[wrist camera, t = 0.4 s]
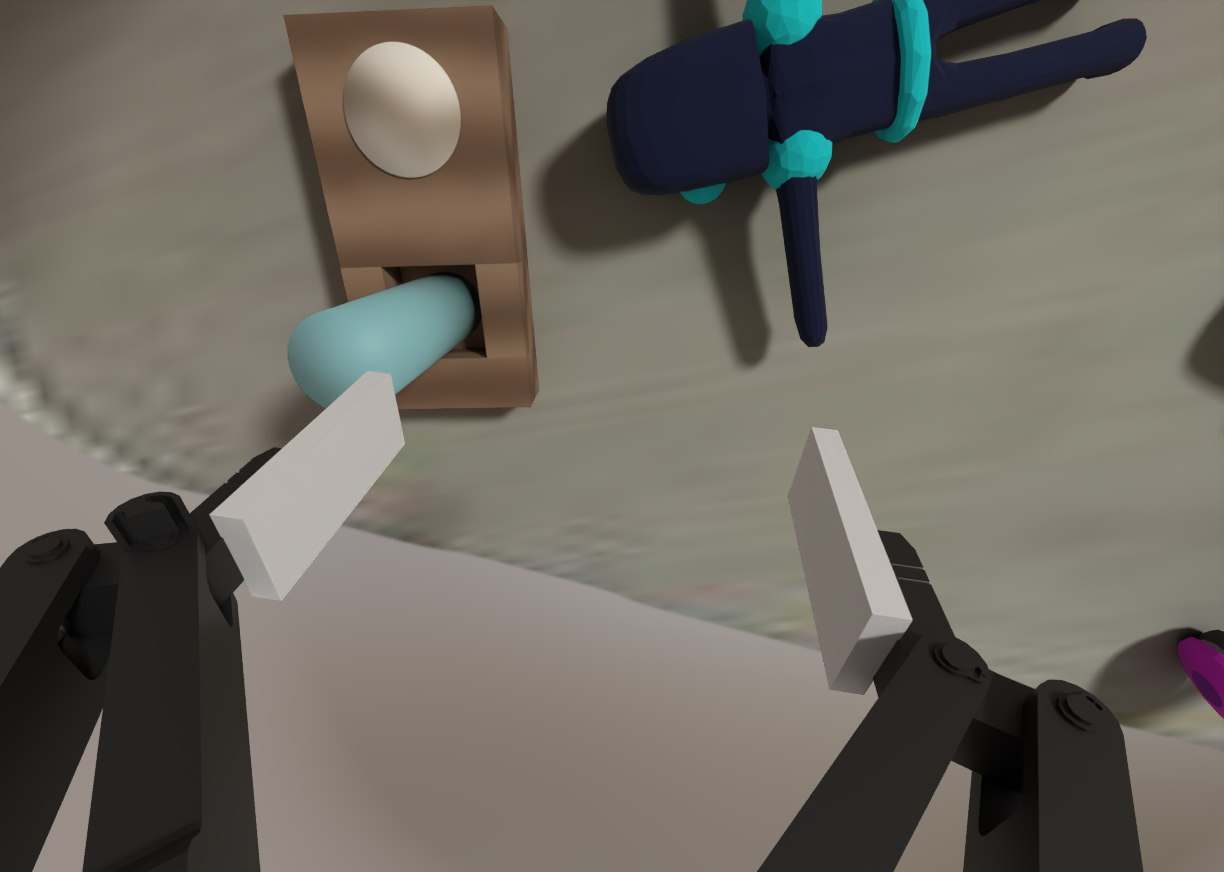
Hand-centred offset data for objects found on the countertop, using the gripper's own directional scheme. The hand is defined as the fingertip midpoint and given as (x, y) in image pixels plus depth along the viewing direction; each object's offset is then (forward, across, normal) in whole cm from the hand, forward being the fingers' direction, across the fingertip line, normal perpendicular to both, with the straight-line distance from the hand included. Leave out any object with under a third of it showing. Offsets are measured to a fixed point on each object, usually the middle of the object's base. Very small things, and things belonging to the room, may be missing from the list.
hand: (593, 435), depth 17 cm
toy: (+29, +11, +9) cm, 33 cm away
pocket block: (+24, -15, -1) cm, 28 cm away
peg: (+22, -14, -6) cm, 27 cm away
